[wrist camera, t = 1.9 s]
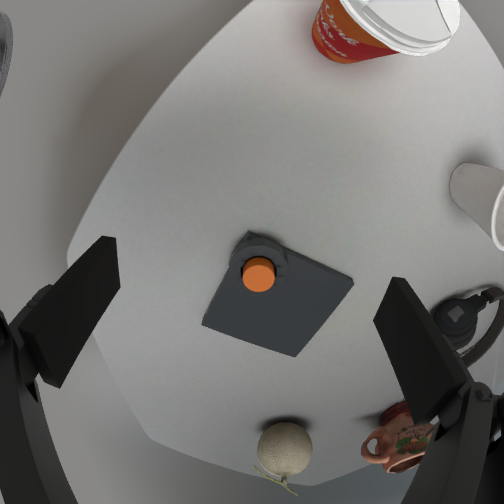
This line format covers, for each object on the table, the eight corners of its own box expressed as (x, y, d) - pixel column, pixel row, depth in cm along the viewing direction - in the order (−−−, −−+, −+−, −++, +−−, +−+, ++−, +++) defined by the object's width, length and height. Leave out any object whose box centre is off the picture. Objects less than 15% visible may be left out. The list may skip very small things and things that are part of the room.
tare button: (238, 275, 31) (237, 285, 30) (251, 252, 30) (251, 260, 28) (265, 287, 32) (265, 296, 30) (279, 264, 30) (280, 273, 29)
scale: (198, 317, 37) (194, 333, 35) (245, 224, 31) (244, 235, 29) (294, 351, 40) (296, 367, 37) (354, 275, 34) (361, 288, 31)
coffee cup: (300, -2, 20) (333, -80, 6) (378, 13, 20) (458, -35, 6) (298, 69, 24) (340, 30, 10) (378, 82, 24) (470, 72, 10)
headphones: (458, 330, 28) (530, 292, 30) (428, 298, 35) (503, 270, 36) (422, 404, 36) (495, 363, 37) (403, 374, 43) (476, 340, 44)
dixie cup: (494, 187, 28) (543, 215, 19) (458, 228, 31) (503, 266, 22) (469, 138, 25) (526, 156, 16) (430, 182, 28) (482, 213, 19)
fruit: (265, 409, 48) (265, 481, 34) (319, 417, 49) (327, 483, 36) (246, 431, 52) (243, 494, 39) (295, 438, 54) (299, 496, 41)
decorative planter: (343, 431, 53) (352, 484, 41) (362, 402, 47) (376, 463, 35) (416, 420, 53) (430, 465, 41) (440, 391, 48) (461, 440, 35)
